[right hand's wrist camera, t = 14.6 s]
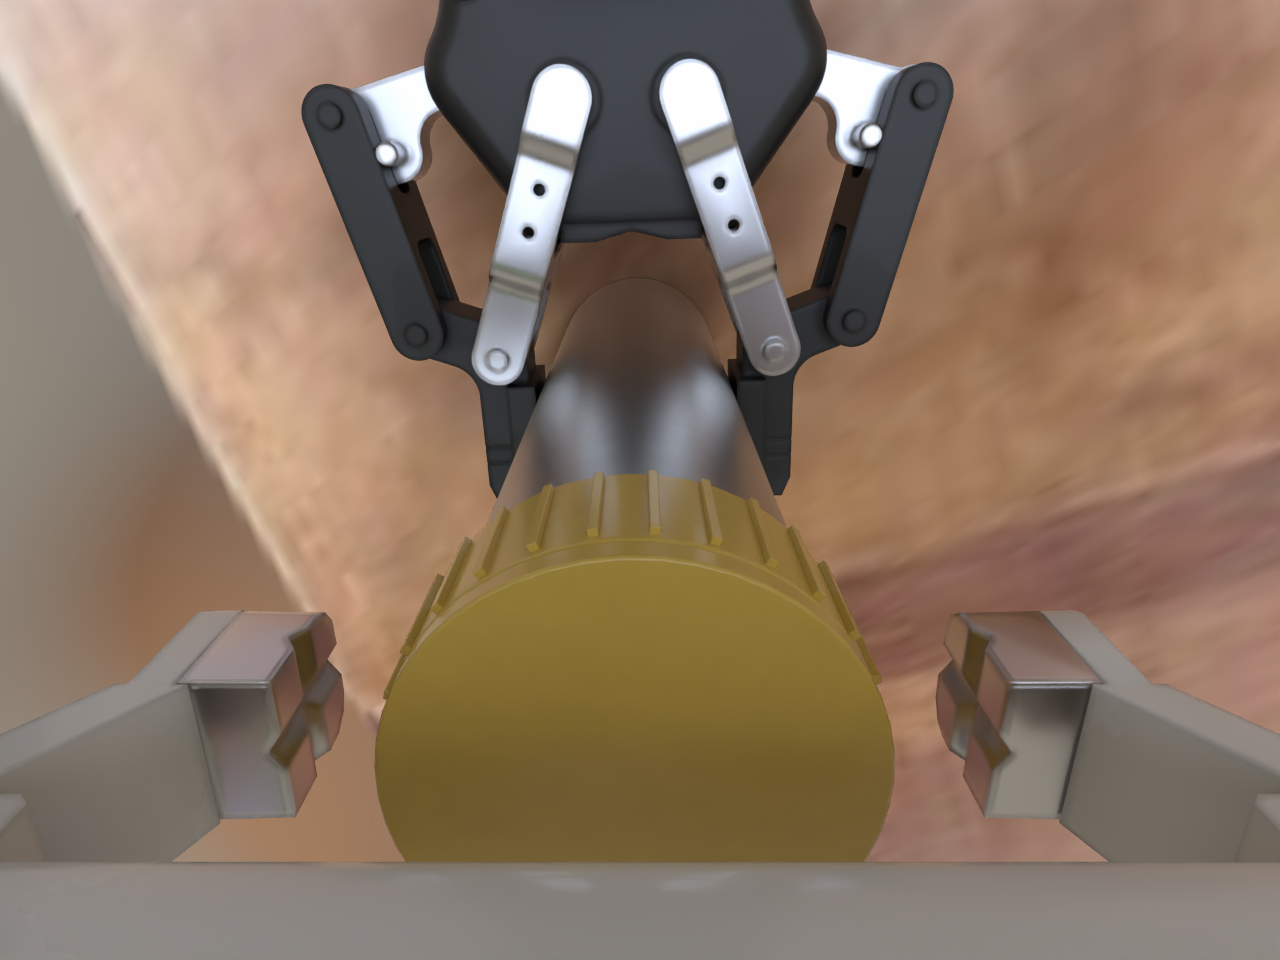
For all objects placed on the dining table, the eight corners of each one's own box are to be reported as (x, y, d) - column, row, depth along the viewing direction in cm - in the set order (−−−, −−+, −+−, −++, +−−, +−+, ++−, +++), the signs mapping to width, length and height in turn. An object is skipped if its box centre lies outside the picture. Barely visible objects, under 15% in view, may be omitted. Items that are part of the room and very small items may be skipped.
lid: (840, 828, 11) (883, 971, 9) (447, 839, 11) (407, 984, 9) (864, 457, 9) (926, 539, 7) (389, 474, 9) (322, 561, 7)
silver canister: (592, 440, 28) (508, 952, 10) (542, 305, 26) (337, 629, 8) (728, 398, 27) (897, 859, 9) (686, 257, 26) (796, 493, 8)
